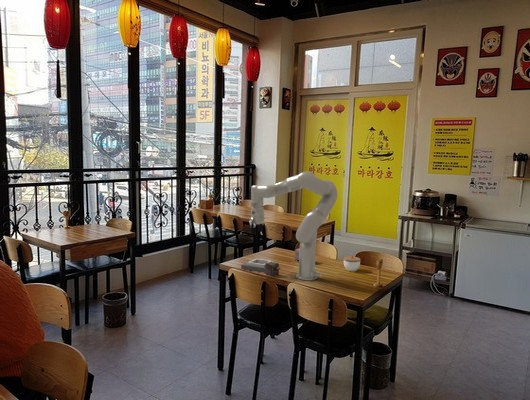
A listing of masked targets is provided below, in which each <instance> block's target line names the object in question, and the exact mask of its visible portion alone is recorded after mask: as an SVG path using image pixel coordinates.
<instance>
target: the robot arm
mask: <svg viewBox="0 0 530 400" xmlns="http://www.w3.org/2000/svg"><path fill="white" fill-rule="evenodd" d="M250 189H251V191H250V192H251V193H250V196H251V197H250V205H251V206H250V208H251V210H250V220H249V226H250V235H256V234H257V231H256V230H257V229H258V232H260V233H264V225H265V224H264V222H265V209H264V198H265V199H270V198H275V197H277V196H280V195H281V196H282V195H284V194H287V193H292V192H295V191H298V190H301V189H306V190H307V191H310V192H312V193H313V194H316V195H318V196H320V197H321V198H320V199H319V200H318V203H317V205H316V206H315V207H314V209H313V210H312V211H309V212H308V213H307V214H306V216H305V217H303V220H302V222H301V223H300V224H299V226H298V228H297V230H296V233H295V239H296V240H297V242H298V243H299V248H300V249H299V261H298V273H296V274H295V278H296V279H298V280H302V281H315V280H317V279H318V278H321V277H322V274H321V272H317V270H316V252H317V251H316V250H317V249H316V248H317V239H318V229H319V227H321V226H322V225H323V224H324V223H325V221H326V219H327V218H328V216H329V214H331V213H330V212H331V211H332V209H333V207H334V206H335V204H336V202H337V200H338V189H337V186H336V184H335V183H334V182H333V181H332V180H330V179H329V180H328V179H324V180H323V179H320V178H319V177H317V176H316V175H315V174H314V173H313V172H312V171H302V172H300V173H299V174H296V175H292V176H290V177H287V178H285V179H284V180H282V181H280V182H278V183H274V184H269V185H261V184H259V185H257V184H256V185H251V188H250ZM257 225H258V228H257V227H256V226H257Z"/></svg>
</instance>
